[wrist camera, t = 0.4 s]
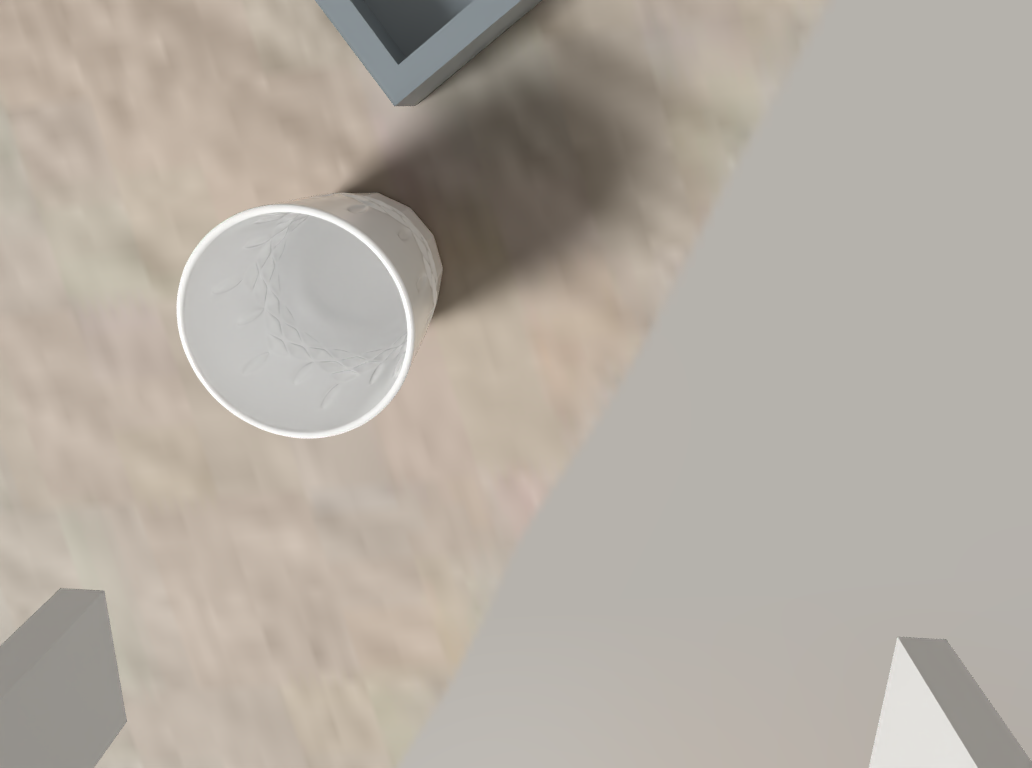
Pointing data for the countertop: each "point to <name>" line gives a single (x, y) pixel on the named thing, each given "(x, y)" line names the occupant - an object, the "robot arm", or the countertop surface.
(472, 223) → the countertop surface
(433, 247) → the white cup
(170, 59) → the countertop surface
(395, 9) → the bin
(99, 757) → the robot arm
